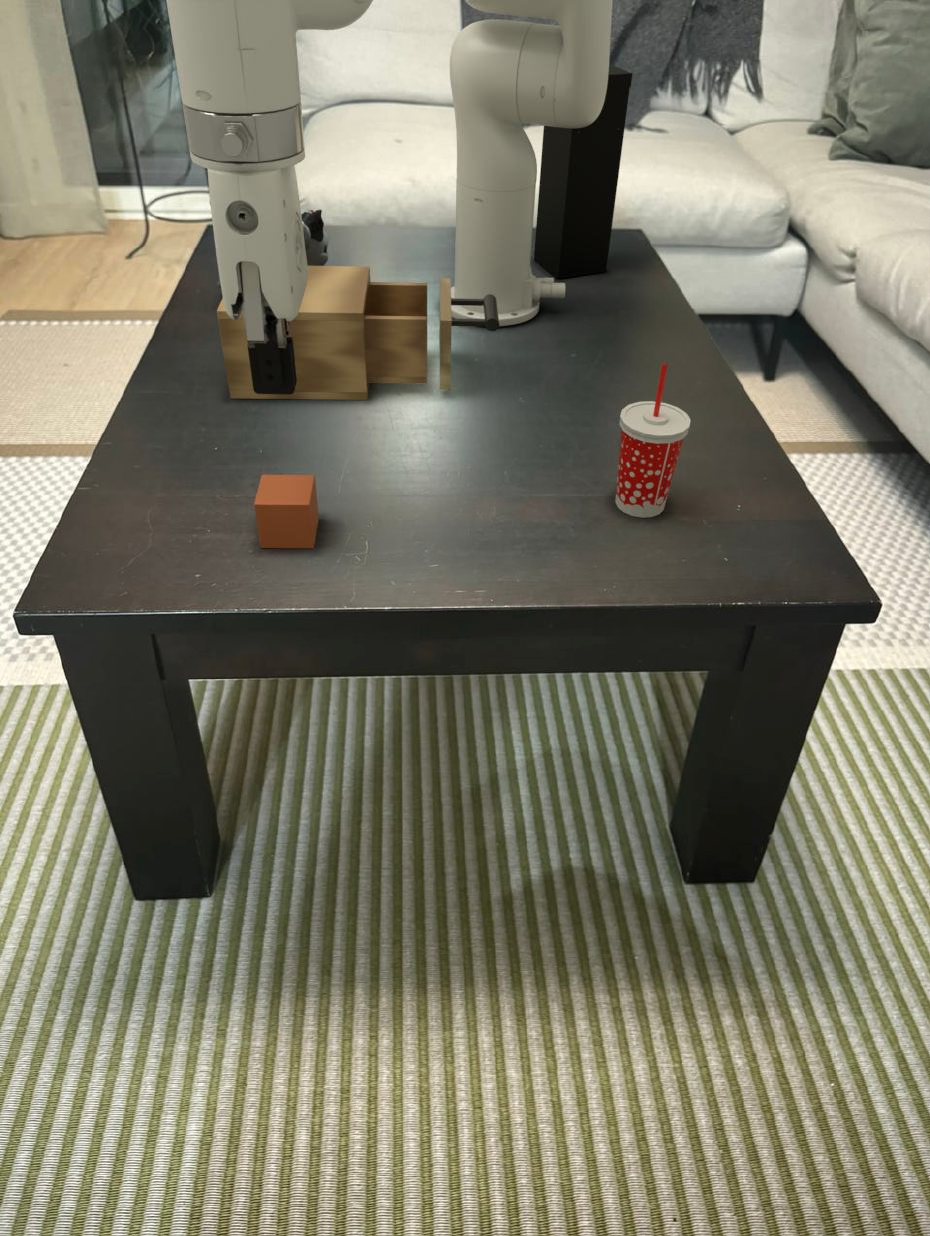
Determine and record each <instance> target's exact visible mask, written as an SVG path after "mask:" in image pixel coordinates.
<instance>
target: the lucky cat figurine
mask: <svg viewBox="0 0 930 1236" xmlns="http://www.w3.org/2000/svg"><path fill="white" fill-rule="evenodd" d="M300 208H301V216H302V225H303V233H304V242H305V250H306V258H307V266H326V264H327V262H328V261H329V253H328V247H329V235H328V234H327V232H326V231H325V229H324V227H325V226H324V225H325V223H324V220H323V218H322V212H323V210H322V209H316V210H315V211H314V210H313V209H310V210H309V208H303V207H300ZM216 285H217V287H218V288H219V289H221V284H220V280H219V281H217V284H216Z"/></svg>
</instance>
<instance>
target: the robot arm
mask: <svg viewBox="0 0 930 1236" xmlns="http://www.w3.org/2000/svg"><path fill="white" fill-rule="evenodd" d="M373 1H374V0H166V7H167V14H168V19H169V20H168V21H169V26H170V33H171V40H172V45H173V52H174V60H175V65H176V72H177V77H178V84H179V85H178V86H179V92H180V98H181V102H182V105H181V106H182V110H183V111H182V112H183V117H184V124H185V129H186V136H187V137H186V138H187V143H188V149H189V154H190V155H189V156H190V160H191V161H192V163H194V165H197V166H199V167H202V168H205V169H207V170H206V171H207V181H208V193H209V206H210V211H211V221H212V231H213V239H214V247H215V255H216V262H217V268H218V276H219V277H218V278H219V281H220V284H221V288H220V289H221V295H222V298H223V300H224V305H225V309H226V313H227V314H228V315H229V316H230V317H231V318H232V319H233V320H237V319H238V318H239V316H240V313H241V311H242V313H243V319H244V325H245V331H246V337H247V343H248V345H247V346H248V353H249V361H250V368H251V376H252V383H253V390H254V392H255V393H257V394H293V393H294V391H295V386H296V383H297V377H296V367H295V357H294V346H293V337H286V336H290V321H292V320H293V319H294V318H295V317H296V316H297V315H298V312H299V309H300V306H301V303H302V300H303V296H304V292H305V289H306V285H307V280H308V266H307V258H306V250H305V242H304V233H303V225H302V216H301V208H302V207H301V201H300V191H299V186H298V179H297V178H298V177H297V173H296V171H297V170H296V166H295V165H298V164H299V163H302V162H303V161H304V160H305V158H306V149H305V136H304V135H305V134H304V133H305V132H304V123H303V109H302V97H301V86H300V84H301V83H300V72H299V59H298V46H297V35H296V33H297V32H298V31H303V30H304V31H305V30H307V31H308V30H311V31H312V30H313V31H314V30H317V31H335V30H340V29H343V28H347V27H349V26H351V25H352V24H354V23H356V22H357V21H358V20H359V19H361V18H362V17H363V15H365V14H366V12H367V11H368V9H370V7H371V5H372V3H373ZM464 2H465V3H466V4H467V5H468V6H470V7H471V8H472V9H474V10H477V11H480V12H484V13H488V14H495V15H503V16H513V17H525V18H534V19H536V18H537V19H548V20H553V21H556V22H557V24H558V25H557V24H547V23H537V22H532V21H522V20H509V19H484V20H478V21H475V22H472V23H470V24H468V25H466V26H465V27H464V28H462V29H461V30H460V31H459V32H458V34H457V36H456V37H455V38H454V41H453V44H452V46H451V50H450V54H449V78H450V79H449V80H450V81H449V82H450V89H451V94H452V102H453V110H454V118H455V119H454V120H455V132H456V133H455V134H456V178H455V179H456V182H455V183H456V184H455V186H456V187H455V190H456V191H455V240H454V241H455V242H454V244H455V245H454V251H455V252H454V285H453V286H451V298H456V299H484V297H485V296H486V295H489V294H491V295H494V296H495V297H496V301H497V309H498V317H499V327H508V326H514V325H518V324H522V323H525V322H527V321H529V320H532V319H533V318H534V317H535V316H537V314H538V313H539V311H540V300H541V298H542V299H543V298H547V299H551V300H552V299H556V300H557V299H558V300H559V299H563V300H564V299H565V297H566V282H554V281H555V277H537V276H536V275H534V274H533V271H532V267H531V258H532V246H533V245H532V244H533V243H532V242H533V232H534V231H533V229H534V228H533V227H534V217H535V202H536V187H537V176H538V164H537V157H536V152H535V150H534V147H533V144H532V142H531V140H530V139H529V135H528V134H527V132H526V131H525V128H524V126H523V125H526V124H527V125H535V126H543V127H544V126H551V127H560V128H583V127H586V126H588V125H590V124H592V123H593V122H594V121H595V120H596V119H597V117H598V116H599V114H600V112H601V110H602V107H603V104H604V101H605V96H606V91H607V83H608V72H609V64H610V56H611V35H612V33H611V32H612V17H613V0H464ZM451 316H452V319H485V317H484V306H464V305H451Z"/></svg>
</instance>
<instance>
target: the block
mask: <svg viewBox="0 0 930 1236" xmlns="http://www.w3.org/2000/svg"><path fill="white" fill-rule="evenodd" d="M316 483H317V482H316V475H314V474H262V475H261V477H260V480H259V483H258V487H257V492H256V495H255V499H254V503H253V508H254V513H255V519H256V527H257V532H258V533H257V534H258V540H259V545H260V549H314V548H315V543H316V538H317V531H318V525H319V521H320V516H319V515H320V513H319V505H318V494H317V484H316Z"/></svg>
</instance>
